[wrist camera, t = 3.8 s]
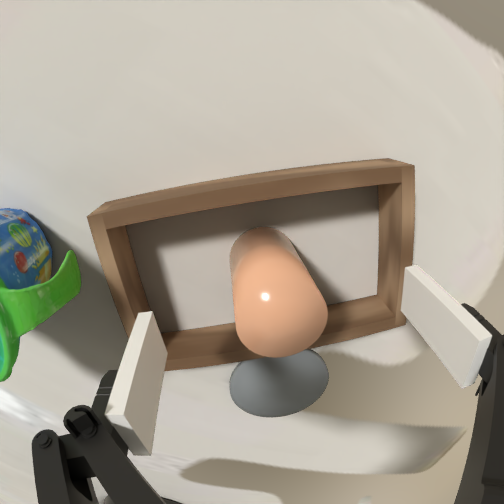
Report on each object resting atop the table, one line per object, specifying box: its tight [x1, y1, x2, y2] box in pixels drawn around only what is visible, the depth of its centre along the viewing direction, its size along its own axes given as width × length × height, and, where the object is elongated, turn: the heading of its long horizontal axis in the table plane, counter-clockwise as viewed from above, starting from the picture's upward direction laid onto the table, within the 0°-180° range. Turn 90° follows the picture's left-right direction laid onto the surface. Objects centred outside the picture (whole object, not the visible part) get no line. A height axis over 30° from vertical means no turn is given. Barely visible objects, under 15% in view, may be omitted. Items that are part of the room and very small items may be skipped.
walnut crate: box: [87, 158, 415, 371], centre depth 21 cm, size 12×20×4 cm, turn 98°
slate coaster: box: [230, 349, 329, 417], centre depth 28 cm, size 9×9×1 cm
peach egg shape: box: [230, 227, 328, 358], centre depth 19 cm, size 5×5×8 cm
